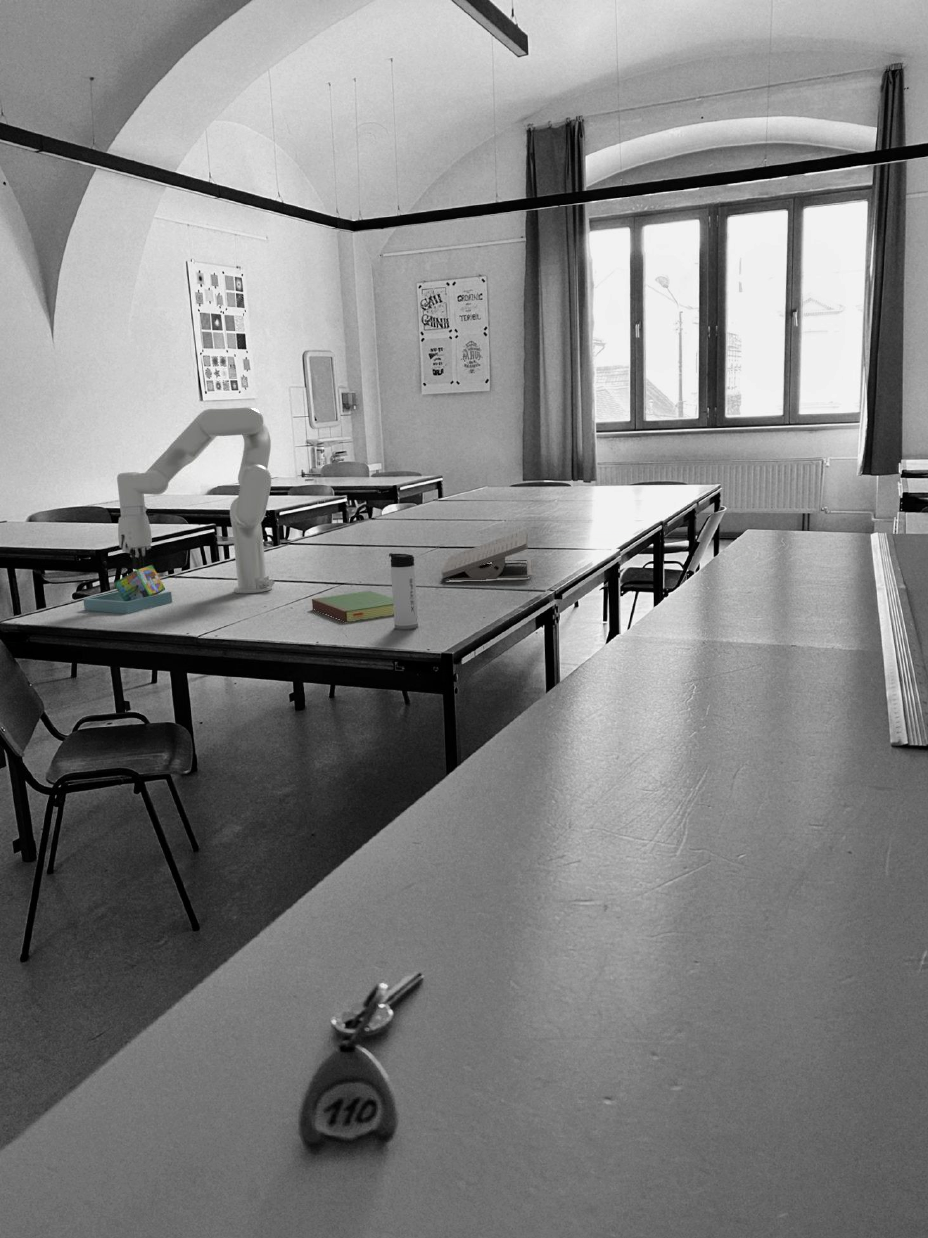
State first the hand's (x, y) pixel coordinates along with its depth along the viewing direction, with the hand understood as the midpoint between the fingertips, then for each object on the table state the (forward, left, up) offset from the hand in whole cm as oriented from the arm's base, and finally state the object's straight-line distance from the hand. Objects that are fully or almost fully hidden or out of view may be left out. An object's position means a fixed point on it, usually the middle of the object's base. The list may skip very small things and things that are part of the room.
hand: (139, 568), depth 317 cm
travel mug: (-104, +6, -11) cm, 105 cm away
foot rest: (-84, -79, -12) cm, 116 cm away
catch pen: (0, +6, -11) cm, 12 cm away
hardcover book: (-79, -8, -12) cm, 80 cm away
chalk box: (0, -3, -5) cm, 6 cm away
